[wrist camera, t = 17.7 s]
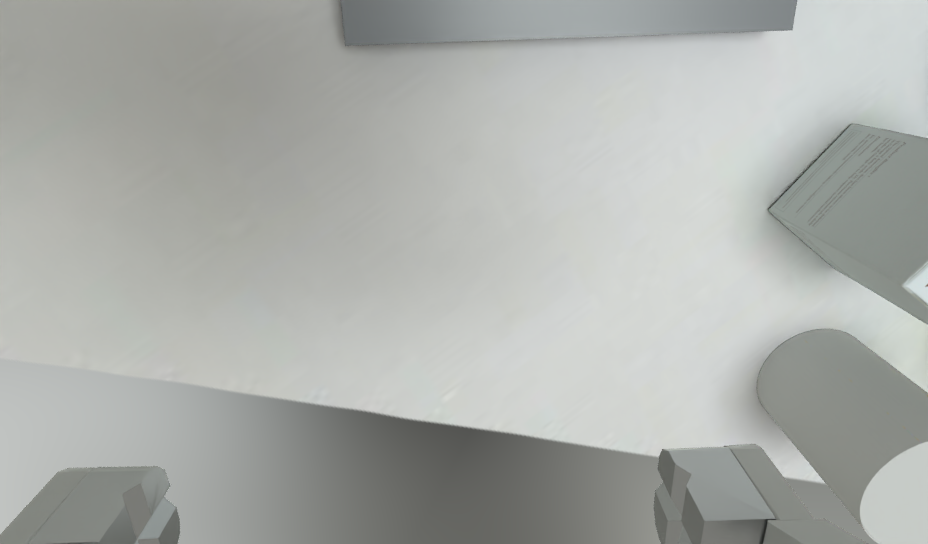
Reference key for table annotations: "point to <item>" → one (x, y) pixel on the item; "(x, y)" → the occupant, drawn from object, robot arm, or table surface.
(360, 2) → the power strip
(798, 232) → the supplement box
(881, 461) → the cup
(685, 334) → the table surface
